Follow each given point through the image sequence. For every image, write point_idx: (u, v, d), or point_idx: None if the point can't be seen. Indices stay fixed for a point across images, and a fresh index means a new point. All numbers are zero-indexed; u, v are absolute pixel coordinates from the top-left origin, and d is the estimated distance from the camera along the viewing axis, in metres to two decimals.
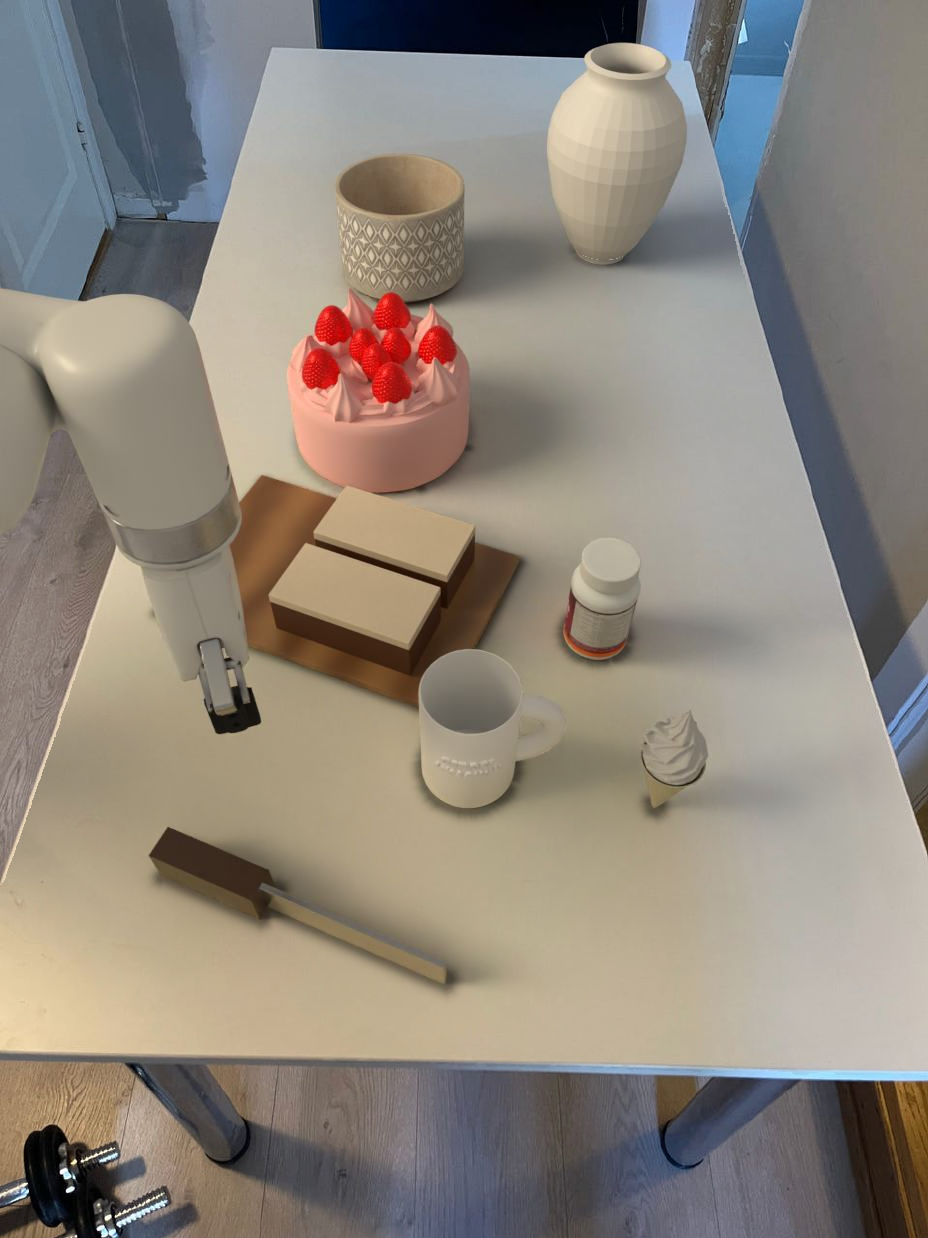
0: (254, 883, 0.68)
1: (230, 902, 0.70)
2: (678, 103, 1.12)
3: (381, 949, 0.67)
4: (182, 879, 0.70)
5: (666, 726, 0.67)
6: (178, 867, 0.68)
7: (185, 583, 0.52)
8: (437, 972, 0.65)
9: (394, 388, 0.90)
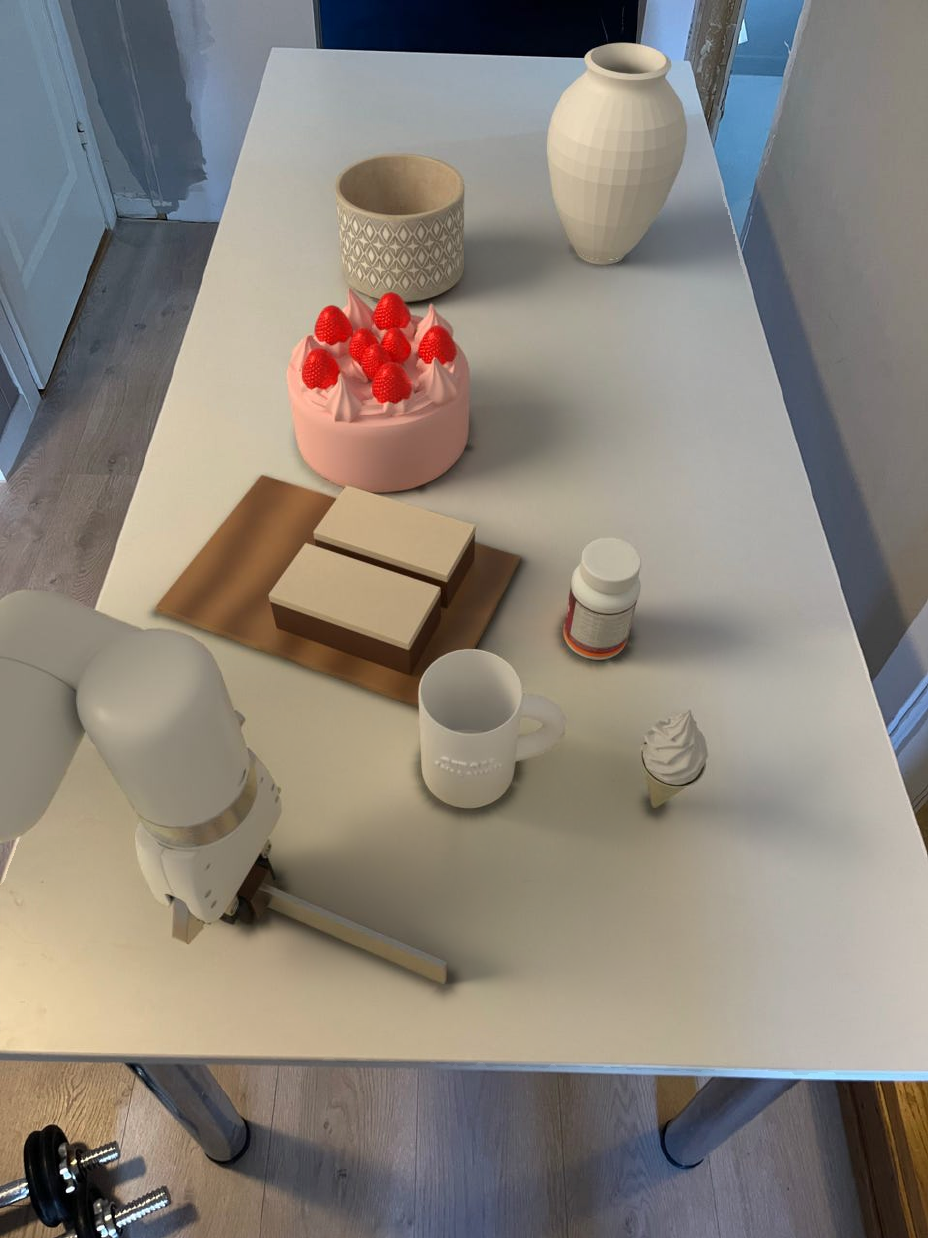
0: (254, 883, 0.68)
1: None
2: (678, 103, 1.12)
3: (381, 949, 0.67)
4: None
5: (666, 726, 0.67)
6: None
7: (157, 858, 0.56)
8: (437, 972, 0.65)
9: (394, 388, 0.90)
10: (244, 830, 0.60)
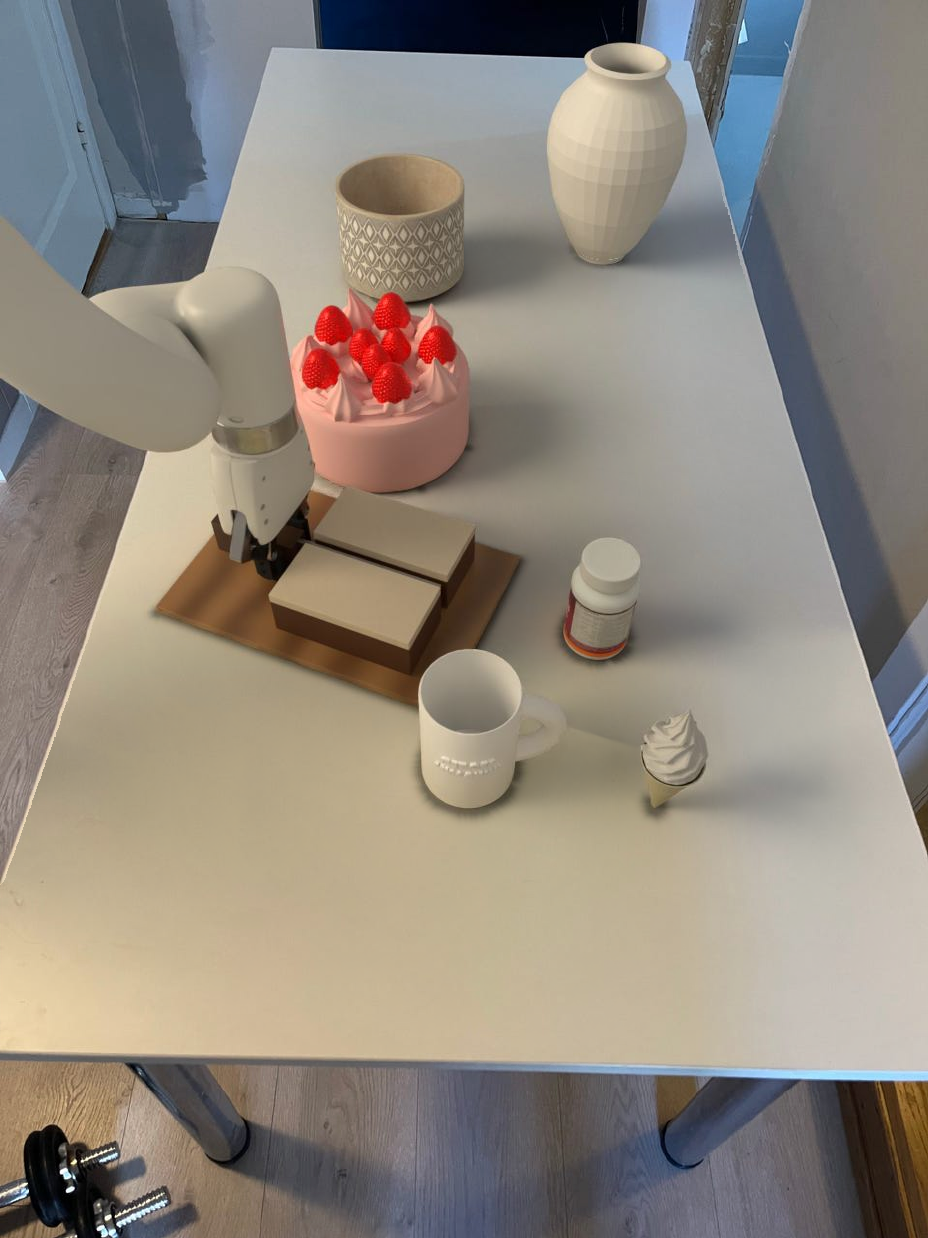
0: (293, 538, 0.88)
1: None
2: (678, 103, 1.12)
3: None
4: None
5: (666, 726, 0.67)
6: None
7: (227, 465, 0.76)
8: None
9: (394, 388, 0.90)
10: (289, 465, 0.80)
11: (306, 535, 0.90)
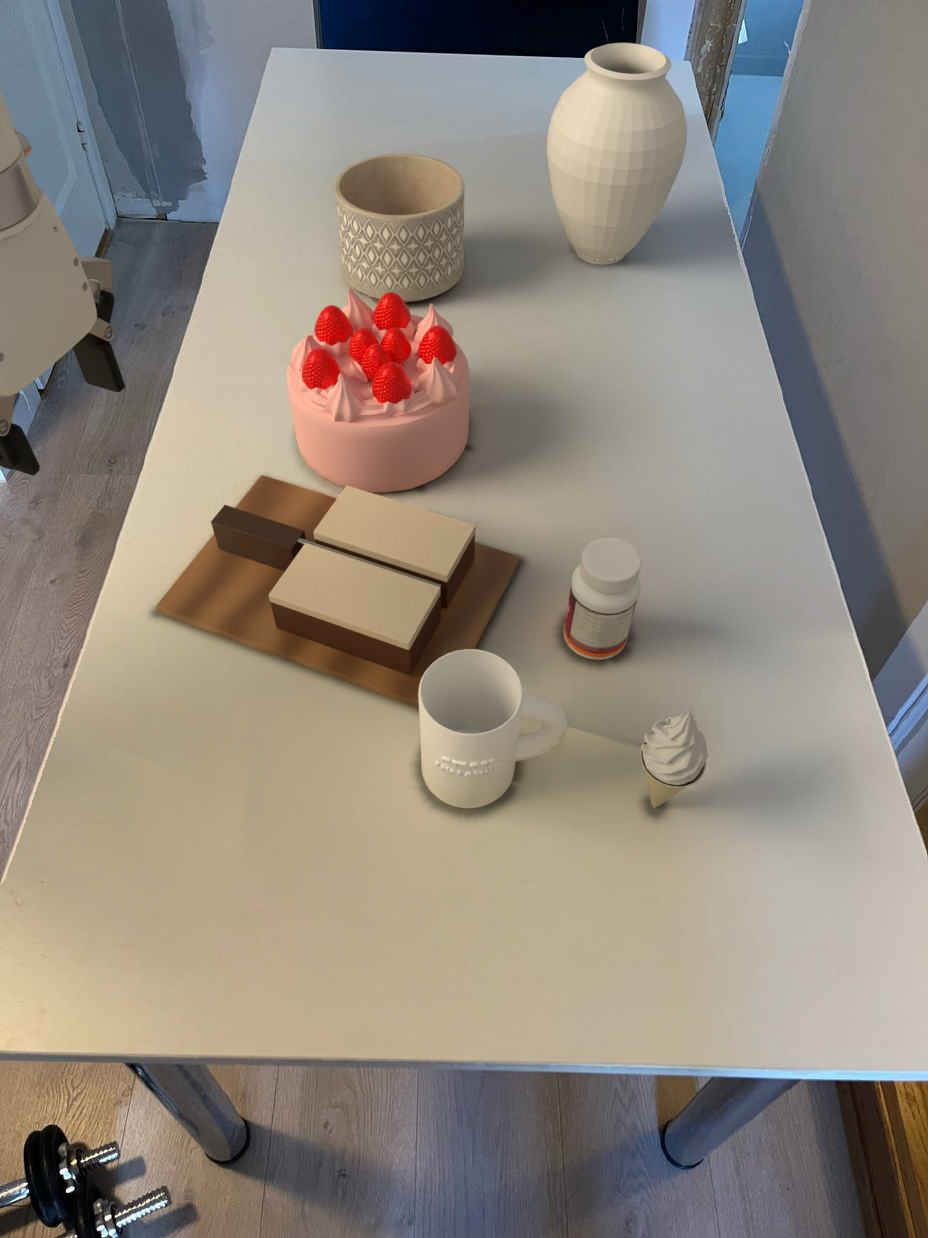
0: (293, 538, 0.88)
1: (273, 560, 0.90)
2: (678, 103, 1.12)
3: None
4: (236, 544, 0.90)
5: (666, 726, 0.67)
6: (234, 528, 0.88)
7: None
8: None
9: (394, 388, 0.90)
10: (33, 275, 0.55)
11: (112, 369, 0.66)
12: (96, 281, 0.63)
